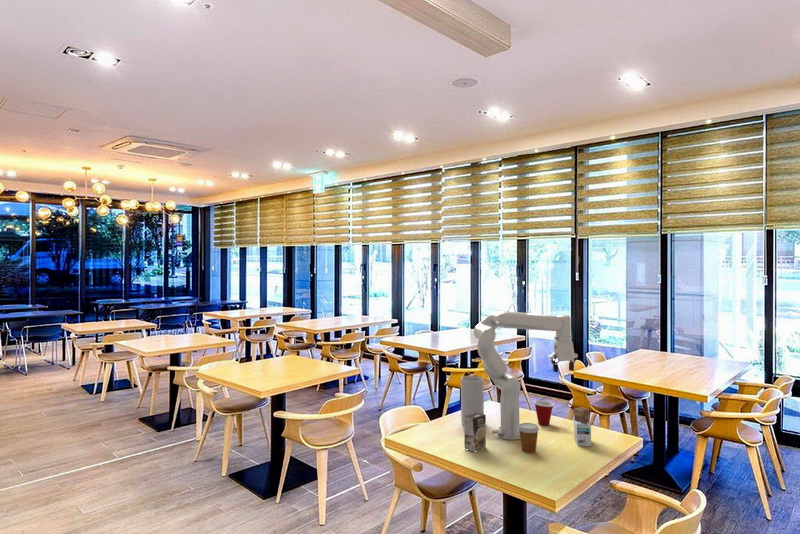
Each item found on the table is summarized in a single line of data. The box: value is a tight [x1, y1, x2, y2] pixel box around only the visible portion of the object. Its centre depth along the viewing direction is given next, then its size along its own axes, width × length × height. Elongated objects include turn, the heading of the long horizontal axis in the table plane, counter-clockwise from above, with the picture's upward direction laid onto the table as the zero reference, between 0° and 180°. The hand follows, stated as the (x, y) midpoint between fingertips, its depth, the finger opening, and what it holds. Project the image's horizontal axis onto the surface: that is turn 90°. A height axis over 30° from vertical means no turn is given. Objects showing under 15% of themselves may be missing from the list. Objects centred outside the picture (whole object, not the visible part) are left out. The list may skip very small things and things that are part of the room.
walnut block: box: [573, 406, 591, 423], centre depth 244 cm, size 5×5×6 cm
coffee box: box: [463, 413, 487, 453], centre depth 238 cm, size 9×6×16 cm
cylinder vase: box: [460, 375, 485, 425], centre depth 277 cm, size 12×12×25 cm
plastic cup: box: [533, 400, 555, 427], centre depth 273 cm, size 11×11×12 cm
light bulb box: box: [573, 419, 592, 447], centre depth 244 cm, size 11×7×11 cm, turn 169°
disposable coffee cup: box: [518, 422, 540, 454], centre depth 234 cm, size 10×10×12 cm
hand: (563, 371), depth 260 cm, fingers open, 9 cm apart
